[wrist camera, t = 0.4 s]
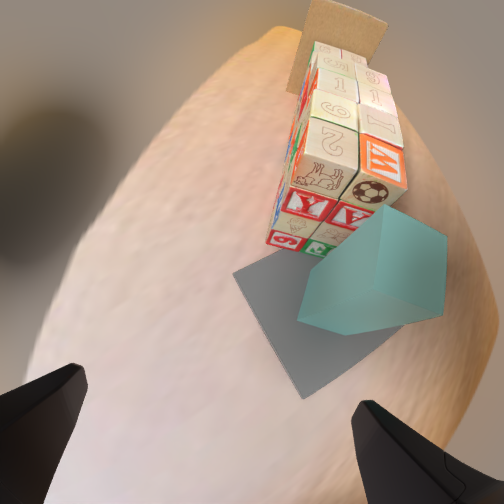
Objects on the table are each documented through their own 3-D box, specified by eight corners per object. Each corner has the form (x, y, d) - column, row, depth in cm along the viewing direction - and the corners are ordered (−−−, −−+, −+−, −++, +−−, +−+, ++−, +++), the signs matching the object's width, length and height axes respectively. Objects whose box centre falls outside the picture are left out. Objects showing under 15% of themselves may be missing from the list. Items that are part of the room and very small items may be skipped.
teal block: (345, 335, 23) (442, 315, 12) (296, 320, 23) (372, 289, 12) (356, 286, 25) (447, 236, 13) (310, 269, 24) (384, 203, 13)
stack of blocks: (296, 97, 33) (321, 18, 21) (342, 112, 33) (377, 38, 21) (264, 245, 25) (303, 150, 13) (332, 263, 25) (411, 189, 13)
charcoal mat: (401, 325, 24) (404, 324, 24) (301, 398, 21) (303, 399, 21) (341, 220, 27) (343, 218, 27) (232, 274, 24) (233, 273, 23)
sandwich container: (348, 63, 39) (378, -4, 25) (344, 113, 33) (391, 25, 19) (300, 46, 38) (323, -24, 24) (283, 91, 33) (313, -6, 19)
